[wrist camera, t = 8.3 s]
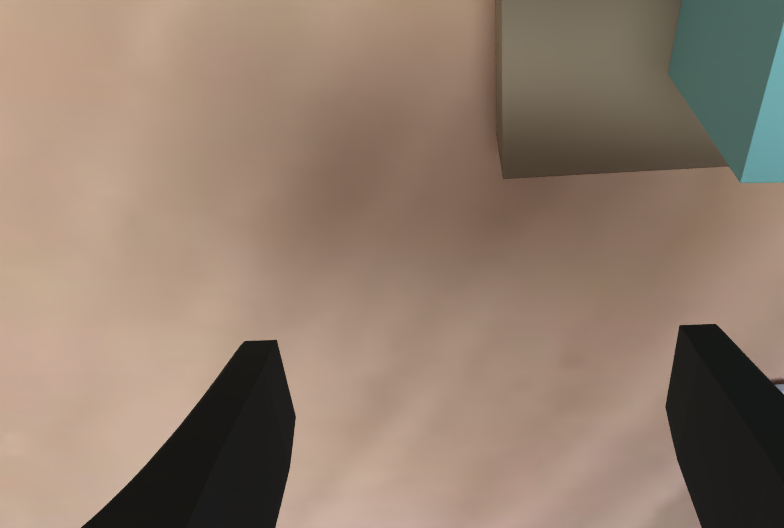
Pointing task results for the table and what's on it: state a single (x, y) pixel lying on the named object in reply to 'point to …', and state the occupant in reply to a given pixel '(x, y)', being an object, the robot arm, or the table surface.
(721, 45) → the teal brick
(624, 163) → the walnut base brick
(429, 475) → the table surface
